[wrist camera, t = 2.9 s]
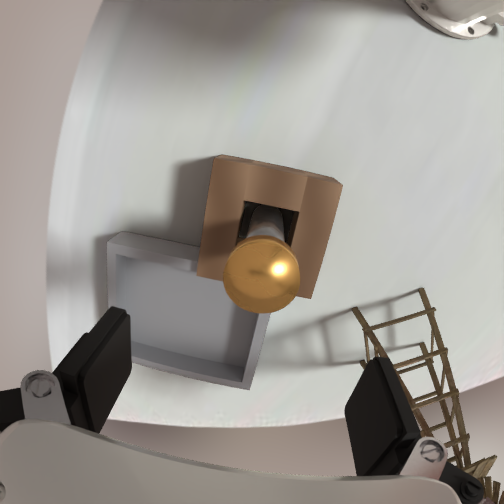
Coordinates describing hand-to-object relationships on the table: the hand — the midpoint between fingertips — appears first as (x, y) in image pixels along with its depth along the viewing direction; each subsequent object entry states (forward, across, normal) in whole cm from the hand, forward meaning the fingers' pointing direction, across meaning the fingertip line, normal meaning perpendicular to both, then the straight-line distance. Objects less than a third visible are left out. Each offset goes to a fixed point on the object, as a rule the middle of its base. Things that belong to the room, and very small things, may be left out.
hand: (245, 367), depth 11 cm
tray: (+19, +6, +10) cm, 23 cm away
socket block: (+19, 0, -1) cm, 19 cm away
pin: (+19, 0, -1) cm, 19 cm away
